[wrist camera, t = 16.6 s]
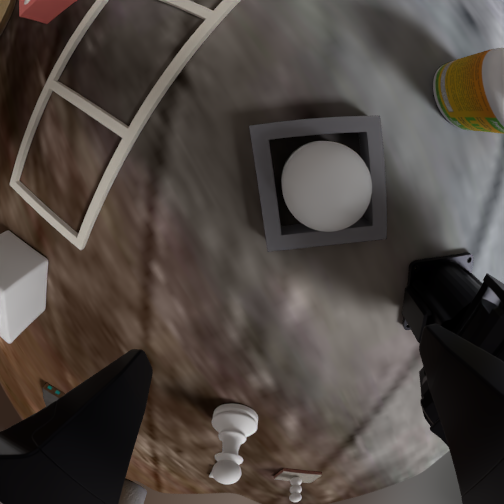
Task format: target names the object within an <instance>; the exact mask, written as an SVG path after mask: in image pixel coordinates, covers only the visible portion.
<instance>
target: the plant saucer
mask: <svg viewBox="0 0 504 504" xmlns="http://www.w3.org/2000/svg"><path fill="white" fill-rule="evenodd" d="M15 4H16V0H0V36H1V35H2V33H3V31H4V29H5V27H6V25H7V23H8V21H9V19H10V17H11V15H12V12H13V10H14V7H15Z"/></svg>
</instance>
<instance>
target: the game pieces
mask: <svg viewBox="0 0 504 504" xmlns="http://www.w3.org/2000/svg"><path fill="white" fill-rule="evenodd" d="M63 395H65V393H63V392H61V391H60V390H58V389H56V388H55V387H53V386H52V385H50V384H48V383H46V384H45V386H44V387H43V398H44V401H45V404H46V407H47V406H48V405H50V404H51V403H53V402H54V401H57V399H59V398H60V397H62V396H63ZM237 455H238V454H237ZM321 475H322V472H315V471H305V470H296V469H288V468H283V469H282V470H281V471H280V472H278V473H277V474H276V475H275V476H274V479H277V480H285V481H290V483H291V485H293V486H291V487H290V492H291V493H292V494H291V495H290V497H289V499H290V500H291V501H292V502H299V501H300V500H301V498H302V496H301V494H299V493H300V492H301V491H302V488H301V486H299V485H300V484H301V483H302V482H305V483H311V482H313V481H314V480H316V479H317V478H318V477H320V476H321ZM209 477H212V478H214V477H213V475H212V472H211V473H210V475H209Z"/></svg>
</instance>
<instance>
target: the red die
mask: <svg viewBox="0 0 504 504" xmlns="http://www.w3.org/2000/svg"><path fill="white" fill-rule="evenodd" d="M76 1H77V0H19V15H20V17H24V18H28V19H31V20H35V21H38V22H42V23H45V24H48V23H49V22H50V21H51V20H53V19H54V18H55V17H56V16H57V15H59V14H60V13H61V12H62V11H64V10H65V9H66V8H68V7H69V6H70V5H71V4H73V3H74V2H76Z"/></svg>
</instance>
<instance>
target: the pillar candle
mask: <svg viewBox="0 0 504 504" xmlns="http://www.w3.org/2000/svg"><path fill="white" fill-rule="evenodd" d="M146 494H147V491H146V490H145V489H144V488H143V487H142V486H140V485H138V484H136V483H134V482H131V481H129V480H126V479H125V481H124V484H123V488H122V492H121V496H120V500H119V504H144V500H145V496H146Z"/></svg>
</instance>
